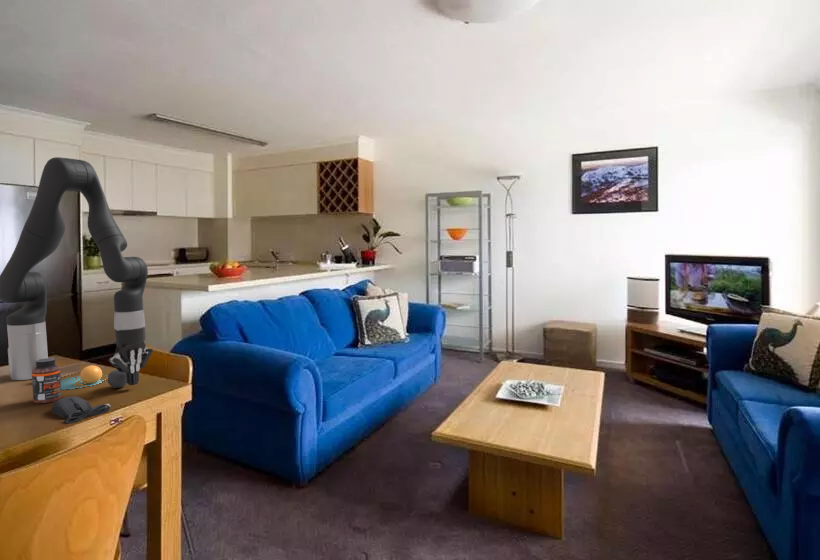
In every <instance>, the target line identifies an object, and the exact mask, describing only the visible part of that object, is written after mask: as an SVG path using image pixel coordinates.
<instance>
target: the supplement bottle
mask: <svg viewBox="0 0 820 560" xmlns="http://www.w3.org/2000/svg"><path fill="white" fill-rule="evenodd" d="M59 367H60V366H59V365H56V358H54V357H48V358H44V359H39V360H37V361H36V368H35V369H33V370H32V379H31V384H32V399H33V402H34V403H35V404H47V403H53V402H57V401H58V400H60V399H62V390H61V378H60V368H59Z"/></svg>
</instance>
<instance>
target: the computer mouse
mask: <svg viewBox="0 0 820 560" xmlns="http://www.w3.org/2000/svg"><path fill="white" fill-rule="evenodd" d="M111 407H112V406H111V405H110V404H109V403H106V404H99V405H95V406H93V407H92V405H91V404H90V403H89V402H88V400H86V399H84V398H82V397H79V396H67V397H63V398H62V397H61V398H60V399H58V400H56V401H54V403H53V405H52V407H51V410H50V412H51V414H52V415H56V416H59V417H61V418H62V419H64V423H65V424H67V425H69V424H75V423H77V422H80V421H82V420H84V419H85V418H90V417H93V416H98V415H102V414H105V413H108V412H110V411H111Z"/></svg>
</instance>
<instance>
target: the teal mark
mask: <svg viewBox="0 0 820 560" xmlns="http://www.w3.org/2000/svg"><path fill="white" fill-rule="evenodd" d="M75 377H77V379H76V378H75ZM80 380H81V379H80V375H77V376H73V377H68V378H65V379H62V380H61V391H62V390H63V391H65V390H66V389H70V390H76V389H75V388H76V387H75V386H78V384H81V383H80V382H82V380H81V381H80ZM105 380H106V379H105ZM78 381H80V382H79V383H77V385H75V386H74V384H75V383H76V382H78ZM102 381H104V380H102ZM102 381H101V380H99V381H98V382H96V383H93V384H92V385H94V386H97V385H96V384H98V385H100V384H99V383H101V384H103V383H102ZM82 384H83V386H84V385H88V386H90V387H93V386H92V385H91V384H84V383H82ZM80 386H81V385H79V386H78V387H77V388H79V387H80ZM83 386H82V387H83ZM82 387H80V388H79V389H83V388H82ZM85 387H86V386H85ZM86 388H87V387H86ZM66 391H67V390H66Z"/></svg>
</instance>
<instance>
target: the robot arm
mask: <svg viewBox="0 0 820 560" xmlns="http://www.w3.org/2000/svg"><path fill="white" fill-rule="evenodd" d="M65 192H75V193H81V194H82V196H83V197H84V199H85V200H86V202H87V204H88V215H87V229H88V231H89V234H90V236H91V238H92V239H93V241H94V243H95V245H96V247H97V248H98V249H99V253H100V259H101V263H102V267H103V271H104V274H105V275H106V276H107V278H108V279H110V280H111V281H113V282H115V283H124V285H123V288H122V289H120V290H118V291H116V292H115V293H114V295H113V304H114V305H113V307H114V316H113V317H114V318H113V328H114V343H115V345H116V348H115V354H114V355H113V357H109V358H108V362H109V363H110V364H111V365H112V366H113V367H114V368H115V370H116V369H117V370H118V371H119V372H125V373H126V379H127V384H128V386H135V385H138V384H139V381H140V375H139V371H140V370H141V369H144V368H145V366H146V365H147V363H148V361H149V359H150V357H151V355H152V354H153V352H154V350H153V348H148V347H147V346H146V343H145V341H146V337H147V334H146V321H145V319H146V318H145V317H146V316H145V311H144V300H143V299H144V297H143V295H144V291H145V289H146V284H147V280H148V275H149V274H148V273H149V270H148V265H147V263H146V262H145V260H144V259H143V258H141V257H139V256H123V254H122V252H123V251H125V250H126V249H127V248H128V242H127V239H126V238H125V235H124V234H123V232H122V231H121V229H120V227H119V226H118V224H117V222H116V220H115V218H114V216H113V214H112V212H111V210H110V207H109V204H108V201H107V198H106V195H105V192H104V190H103V187H102V184H101V181H100V179H99V176H98V173H97V172H96V170H95V168H94V167H93V165H92V164H91V163H89V161H86V160H83V159H77V158H76V159H75V158H69V157H68V158H67V157H57V156H55V157H52V158H49V160H47V162H46V164H45V165H44V167H43V169H42V173H41V176H40V179H39V184H38V188H37V191H36V196H35V199H34V201H33V205H32V207H31V209H30V212H29V215H28V216H27V219H26V221H25V223H24V225H23V228H22V229H21V233H20V235H19V238H18V241H17V244H16V246H15V248H14V250H13V253H12V254H11V257H10V258H9V260H8V262H7V263H6V265H5V266H4V268H3V270H2V272H1V273H0V301H1V302H2V303H7V304H9V303H10V304H11V303H12V304H16V303H24V304H23V306H22V307H21V308H20V309H18V310H16V311H14V312H12V313H10V314H8V315H7V316H6V329H7V339H8V341H7V342H8V348H7V355H8V369H9V371H8V372H9V378H10V379H11V380H12V381H26V380H32V370H33V369H35V368H36V361H37V360H39V359H44V358H49V356H48V355H49V354H48V353H49V352H48V340H47V339H48V336H47V325H46V324H47V323H46V315H47V310H48V307H47V300H48V299H47V297H48V295H47V288H48V287H47V282H46V279H45V277H44V276H43V274H42V273H40V272H37V271H31V270H32V269H33V268H34V267H35V266H36V265H38V264H39V263H41V262H43V261H44V260H45V259H47V258H48V257H49V256H51V255H52V254H53V253H54V252H56V250H57V249H58V247H59V246H60V244H61V241H62V239H63V238H64V237H63V236H64V235H65V231H66V226H65V225H66V224H65V222H64V218H63V216H62V214H61V211H60V208H59V207H60V202H61V199H62V198H63V196H64V194H65ZM127 384H126V385H127Z"/></svg>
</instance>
